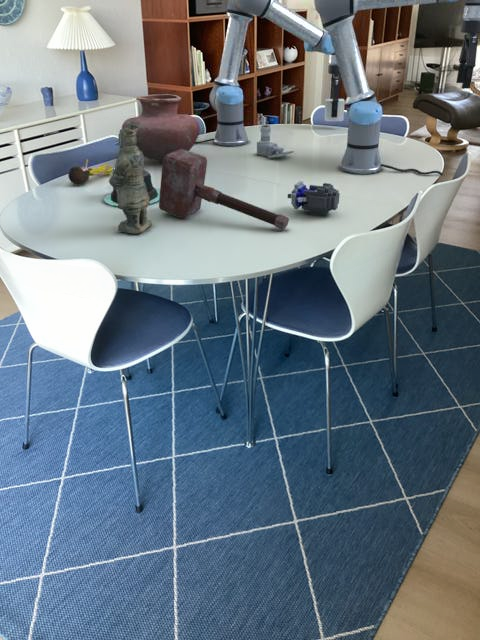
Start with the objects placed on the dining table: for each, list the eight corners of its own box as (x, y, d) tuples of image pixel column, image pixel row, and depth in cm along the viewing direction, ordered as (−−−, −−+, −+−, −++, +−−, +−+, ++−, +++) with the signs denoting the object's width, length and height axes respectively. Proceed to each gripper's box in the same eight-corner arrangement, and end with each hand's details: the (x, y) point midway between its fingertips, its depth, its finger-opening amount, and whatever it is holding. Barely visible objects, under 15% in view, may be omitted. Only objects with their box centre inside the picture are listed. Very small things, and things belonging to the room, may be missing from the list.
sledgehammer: (299, 190, 156) (179, 147, 167) (285, 200, 148) (161, 154, 160) (286, 244, 166) (174, 200, 177) (272, 256, 158) (156, 209, 170)
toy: (295, 178, 172) (342, 184, 166) (295, 205, 177) (340, 211, 171) (285, 186, 166) (333, 192, 160) (284, 213, 170) (331, 220, 164)
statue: (131, 220, 168) (117, 116, 152) (158, 224, 164) (147, 118, 149) (109, 233, 159) (93, 124, 144) (138, 237, 156) (124, 126, 140)
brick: (324, 121, 271) (325, 101, 266) (324, 118, 276) (325, 99, 271) (343, 121, 270) (344, 100, 265) (342, 118, 275) (343, 98, 271)
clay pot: (207, 152, 239) (204, 90, 226) (190, 171, 213) (185, 102, 200) (140, 150, 243) (133, 89, 231) (115, 169, 218) (106, 101, 205)
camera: (266, 123, 231) (294, 128, 223) (265, 151, 237) (293, 157, 229) (252, 126, 226) (281, 131, 217) (252, 155, 232) (280, 162, 223)
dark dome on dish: (91, 202, 180) (113, 186, 197) (142, 231, 182) (160, 212, 199) (107, 162, 172) (129, 148, 190) (160, 192, 174) (177, 176, 192)
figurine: (134, 159, 212) (83, 166, 193) (134, 179, 215) (84, 188, 196) (109, 155, 218) (58, 161, 199) (110, 174, 221) (59, 182, 202)
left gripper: (346, 66, 252) (343, 119, 264) (343, 61, 268) (339, 112, 280) (329, 66, 252) (327, 119, 264) (327, 62, 269) (324, 112, 281)
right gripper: (492, 21, 181) (479, 90, 192) (479, 18, 202) (468, 80, 213) (468, 21, 182) (456, 90, 193) (457, 18, 204) (447, 80, 214)
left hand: (333, 115), depth 272 cm, fingers closed on brick, 6 cm apart
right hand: (462, 85), depth 203 cm, fingers open, 13 cm apart
